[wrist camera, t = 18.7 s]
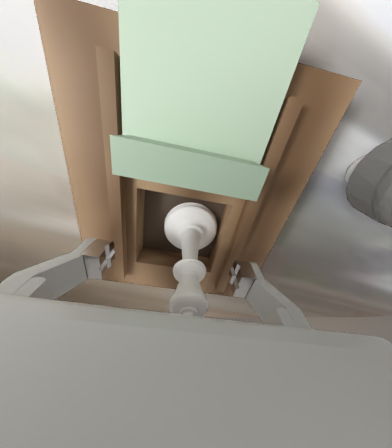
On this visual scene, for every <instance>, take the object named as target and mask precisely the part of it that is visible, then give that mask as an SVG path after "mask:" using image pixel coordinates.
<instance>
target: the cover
mask: <svg viewBox="0 0 392 448" xmlns="http://www.w3.org/2000/svg"><path fill="white" fill-rule="evenodd" d="M319 4H320V2H318V1H315V0H118V15H119V46H120V77H121V108H122V135H110V148H111V163H112V174H114V175H119V176H124V177H129V178H135V179H140V180H145V181H151V182H156V183H161V184H166V185H172V186H177V187H182V188H188V189H193V190H198V191H203V192H209V193H214V194H219V195H225V196H230V197H235V198H240V199H246V200H251V201H256V202H257V199H258V197H259V195H260V192H261V190H262V187H263V185H264V182H265V180H266V177H267V175H268V172H269V170H270V169H269V168H267V167H265V166H263V165H260V163H261V160H262V157H263V155H264V152H265V149H266V147H267V144H268V141H269V139H270V136H271V133H272V131H273V128H274V125H275V122H276V120H277V117H278V114H279V112H280V109H281V106H282V104H283V101H284V98H285V96H286V93H287V90H288V87H289V85H290V82H291V79H292V77H293V74H294V71H295V69H296V66H297V63H298V60H299V58H300V55H301V52H302V50H303V47H304V44H305V42H306V39H307V36H308V34H309V31H310V28H311V25H312V23H313V20H314V17H315V15H316V12H317V9H318V7H319Z"/></svg>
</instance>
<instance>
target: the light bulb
mask: <svg viewBox="0 0 392 448" xmlns="http://www.w3.org/2000/svg"><path fill="white" fill-rule="evenodd" d="M345 179H346V182H347V187H346V193H347V200H348V201H349V202H350V204H351V205H352V207H354V208H355V209H357V210H359V211H360V212H362V213H364V214H365V215H367V216H369V217H371V218H372V219H374V220H376V221H377V222H379V223H382V224H384V225H388V226H391V227H392V139H390V140H388V141H386V142H384V143H382V144H381V145H379V146H377V147H376V148H374V149H373V150H372V151H371V152H369V153H368V154H367V155H365V156H362V157H361V158H359V159H358V160H356V161H355V162H353V164H352V165H351V166H350V167H349V169H348V171H347V173H346V176H345Z"/></svg>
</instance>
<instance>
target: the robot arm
mask: <svg viewBox="0 0 392 448" xmlns="http://www.w3.org/2000/svg"><path fill="white" fill-rule="evenodd" d="M114 247H115V246H114V242H113V241H107V240H101V239H95V238H87V239H85V240H84V241H83V242H82V243H81V244H80V245H79V246H78V247H77V248H76V249H75V250H73V251H72V252H71V253H67V254H64V255H61V256H59V257H56V258H53V259H50V260H48V261H45V262H42V263H40V264H37V265H34V266H31V267H29V268H26V269H23V270H21V271H18V272H15V273H13V274H12V275H10V276H9V277H8V278H6V279H5V280H4V281H2V282H1V283H0V448H392V343H390V342H389V341H387V340H386V339H383V338H381V337H377V336H371V335H361V334H352V333H343V332H334V331H325V330H316V329H312V327H311V325H310V324H309V322H308V320H307V319H306V317H305V315H304V314H303V312H302V310H301V309H300V308H299V307H298V306H296V305H295V304H294V303H293V302H292V301H290V300H289V299H288V298H287V297H286V296H285V295H283V294H282V293H281V292H280V291H279V290H277V289H276V288H275V287H274V286H273V285H272V284H270V283H269V282H268V281H265V279H264V277H263V275H262V273H261V271H260V269H259V267H258V265H257V263H255V262H246V261H239V260H234V262H233V267H232V268H231V269H230V271H229V282H230V283H231V284H232V286H231V291H232V295H233V296H234V297H240V298H245V300H246V301H247V302H248V303H249V305H250V306H251V307H252V309H253V310H254V311H255V312H256V314H257V315H258V316H259V318H260V319H261V320H262V321H263V323H254V322H246V321H236V320H228V319H219V318H210V317H201V316H193V315H184V314H175V313H166V312H157V311H148V310H139V309H131V308H122V307H113V306H104V305H95V304H86V303H77V302H68V301H59V300H56V299H57V298H59V297H60V296H62V295H63V294H65V293H66V292H68V291H70V290H71V289H73V288H74V287H76V286H77V285H79V284H80V283H82V282H84V281H85V280H87V278H90V279H100V280H102V279H103V278H104V276H105V275H106V273H107V272H108V270H107V268H109V267H111V266H112V264H113V262H114V259H115V251H114V250H113V248H114Z"/></svg>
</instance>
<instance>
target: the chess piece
mask: <svg viewBox="0 0 392 448" xmlns="http://www.w3.org/2000/svg"><path fill="white" fill-rule="evenodd" d="M164 230H165V235H166V237H167V239H168V240H169V241H170V242H171V243H172V244H173V245H174V246H176V247H177V248H180V249H182V260H180V261H178V262H177V263H176V264H175V265H174V267H173V274H174V277H175V279H176V280H177V281H179V283H178V285H177V288H176V290H175V292H174V293H173V295H172V297H171V299H170V302H169V310H170V312H171V313H175V314H184V315H193V316H203V315H204V314H205V313H206V312H207V310H208V302H207V299H206V296H205V294H204V293H203V291H202V288H201V285H200V283H199V282H200V281H202V280H203V279H204V277H205V274H206V267H205V265H204V264H203V263H202V262H201V261H199V260H197V259H198V250H199V249H202V248H204V247H206V246H207V245H209V244H210V243H211V242H212V241H213V239H214V238H215V235H216V232H217V221H216V218H215V216H214V214H213V213H212V211H211V210H210V209H208V208H207V207H206V206H204V205H201V204H198V203H193V202H188V203H182V204H179V205H177V206H175V207H174V208H173V209H171V210H170V212H169V213H168V214H167V216H166V218H165V223H164Z"/></svg>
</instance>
